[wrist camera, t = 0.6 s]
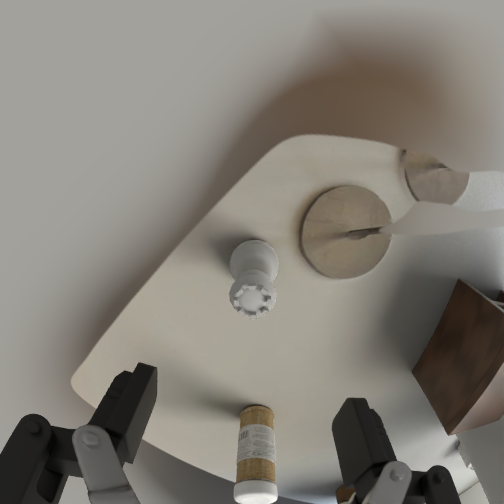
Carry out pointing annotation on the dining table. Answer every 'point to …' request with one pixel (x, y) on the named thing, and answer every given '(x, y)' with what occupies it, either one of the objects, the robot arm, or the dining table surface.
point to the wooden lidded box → (466, 361)
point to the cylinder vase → (487, 457)
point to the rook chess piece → (253, 278)
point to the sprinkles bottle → (256, 457)
